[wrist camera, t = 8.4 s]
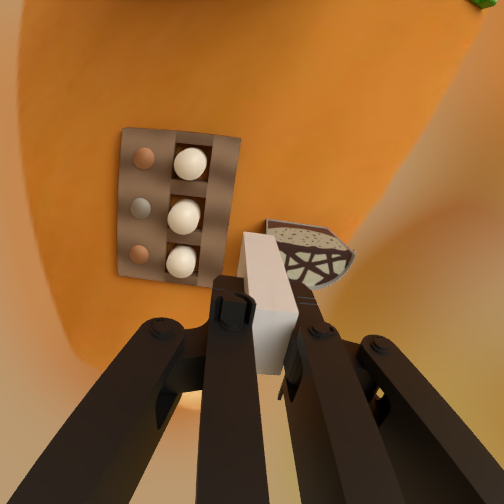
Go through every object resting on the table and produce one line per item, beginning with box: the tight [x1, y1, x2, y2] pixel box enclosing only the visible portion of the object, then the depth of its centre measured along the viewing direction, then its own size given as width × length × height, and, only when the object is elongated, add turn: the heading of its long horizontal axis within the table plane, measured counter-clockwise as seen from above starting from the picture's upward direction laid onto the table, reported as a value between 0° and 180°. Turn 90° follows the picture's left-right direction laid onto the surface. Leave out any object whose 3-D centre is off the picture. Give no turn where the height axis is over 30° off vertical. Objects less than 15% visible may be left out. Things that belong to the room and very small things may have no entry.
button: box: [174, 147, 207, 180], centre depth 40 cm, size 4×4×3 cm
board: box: [117, 127, 241, 288], centre depth 44 cm, size 22×16×2 cm
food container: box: [266, 219, 356, 290], centre depth 43 cm, size 12×6×10 cm, turn 81°
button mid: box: [168, 199, 201, 235], centre depth 42 cm, size 4×4×3 cm
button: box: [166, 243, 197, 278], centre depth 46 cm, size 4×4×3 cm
